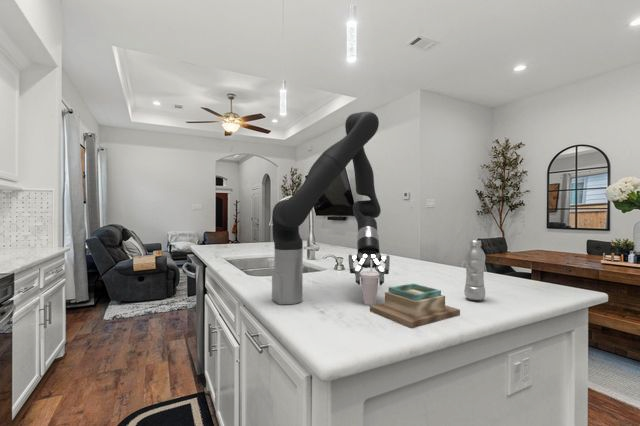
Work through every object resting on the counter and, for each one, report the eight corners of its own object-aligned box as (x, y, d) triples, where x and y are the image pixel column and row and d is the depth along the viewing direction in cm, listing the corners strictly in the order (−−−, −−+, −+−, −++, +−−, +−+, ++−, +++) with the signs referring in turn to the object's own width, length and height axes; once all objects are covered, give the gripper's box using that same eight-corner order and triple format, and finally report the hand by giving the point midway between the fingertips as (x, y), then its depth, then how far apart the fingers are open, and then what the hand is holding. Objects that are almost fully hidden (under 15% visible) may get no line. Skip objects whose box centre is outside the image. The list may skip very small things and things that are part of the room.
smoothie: (379, 306, 99) (379, 261, 99) (358, 305, 101) (358, 261, 100) (379, 301, 106) (379, 258, 105) (360, 300, 107) (360, 258, 107)
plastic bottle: (464, 301, 106) (465, 240, 106) (463, 296, 112) (464, 239, 112) (486, 303, 103) (487, 241, 103) (484, 298, 110) (485, 239, 109)
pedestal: (411, 328, 82) (411, 300, 82) (369, 311, 95) (369, 287, 95) (460, 314, 92) (460, 290, 92) (416, 301, 106) (416, 279, 106)
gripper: (347, 235, 111) (347, 276, 99) (389, 235, 110) (394, 277, 98) (347, 248, 116) (347, 289, 105) (387, 249, 115) (392, 290, 103)
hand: (370, 283), depth 101 cm, fingers closed on smoothie, 6 cm apart
